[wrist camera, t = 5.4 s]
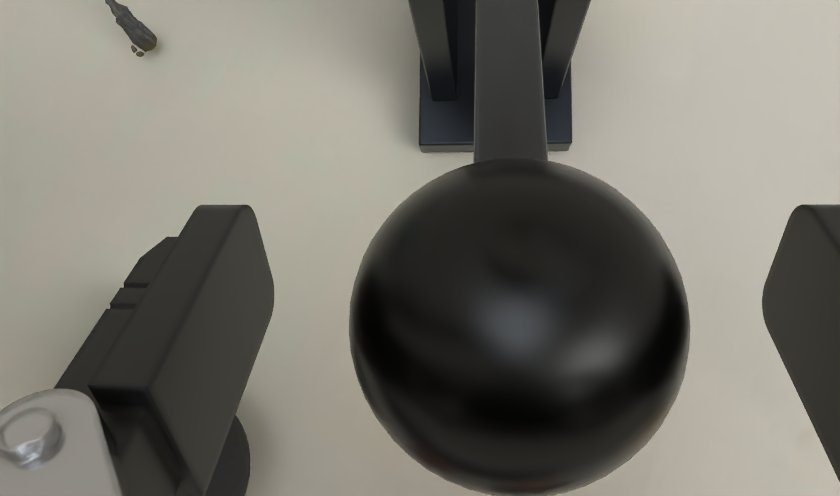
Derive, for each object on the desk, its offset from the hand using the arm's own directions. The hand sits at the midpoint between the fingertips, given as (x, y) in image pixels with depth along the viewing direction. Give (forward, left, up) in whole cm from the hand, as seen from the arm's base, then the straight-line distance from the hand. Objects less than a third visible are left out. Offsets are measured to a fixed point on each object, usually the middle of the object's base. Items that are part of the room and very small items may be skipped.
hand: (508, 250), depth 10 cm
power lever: (-2, +3, -3) cm, 4 cm away
